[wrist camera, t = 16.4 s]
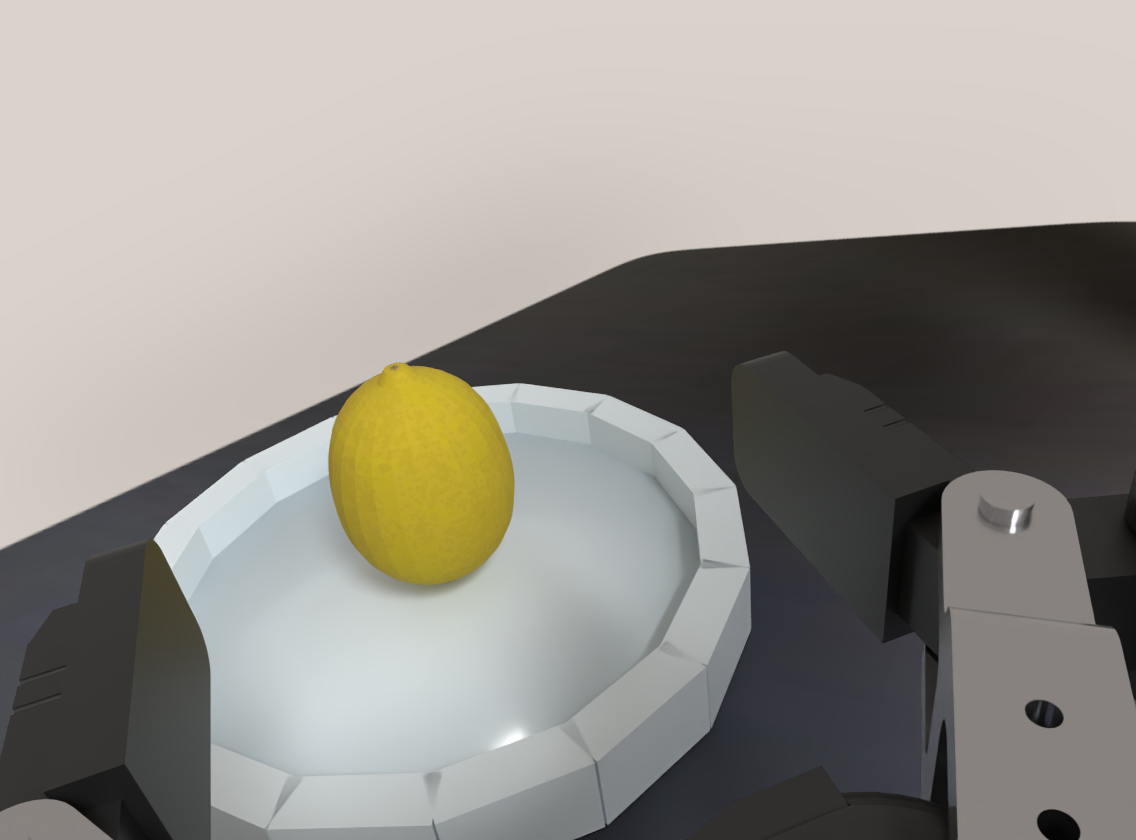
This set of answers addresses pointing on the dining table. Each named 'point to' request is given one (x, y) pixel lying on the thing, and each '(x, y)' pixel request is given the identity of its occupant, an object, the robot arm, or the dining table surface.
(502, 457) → the lemon
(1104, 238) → the dining table surface
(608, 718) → the dish
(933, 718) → the robot arm
